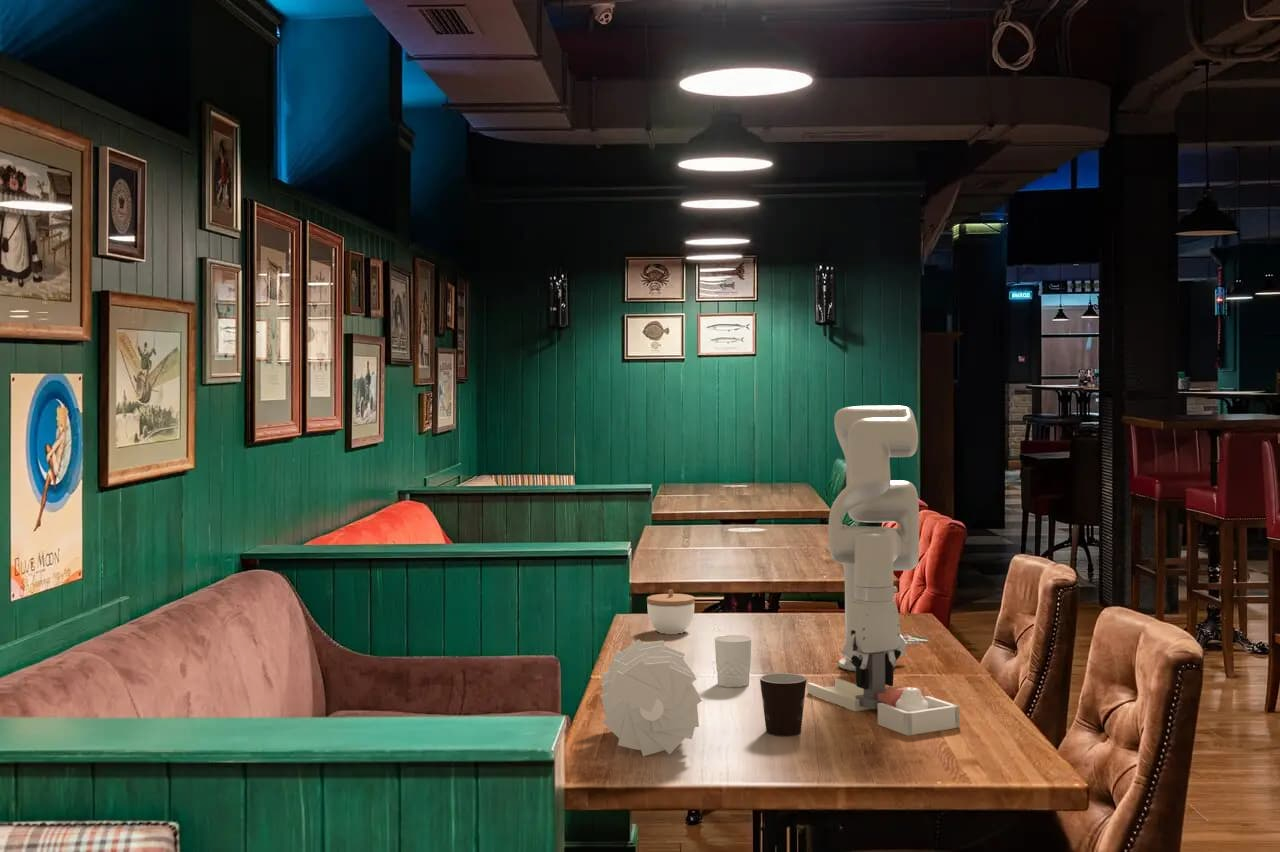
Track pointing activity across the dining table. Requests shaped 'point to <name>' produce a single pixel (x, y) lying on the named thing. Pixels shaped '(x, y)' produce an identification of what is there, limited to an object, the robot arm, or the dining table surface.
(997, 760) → the dining table surface
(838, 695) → the track
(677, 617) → the lidded bowl
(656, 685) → the spiral staircase
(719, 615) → the dining table surface
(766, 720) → the coffee mug
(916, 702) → the white ribbed dome
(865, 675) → the robot arm
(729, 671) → the white cup
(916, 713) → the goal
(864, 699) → the block
